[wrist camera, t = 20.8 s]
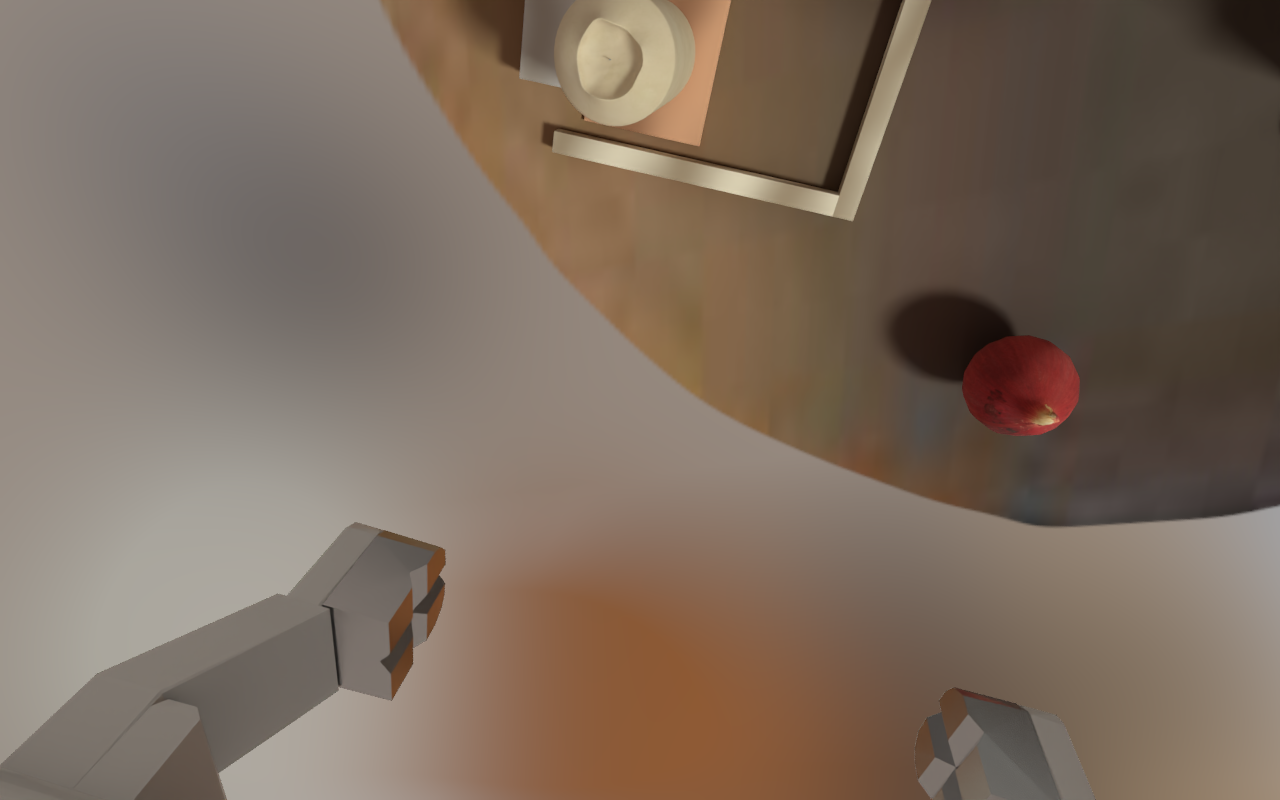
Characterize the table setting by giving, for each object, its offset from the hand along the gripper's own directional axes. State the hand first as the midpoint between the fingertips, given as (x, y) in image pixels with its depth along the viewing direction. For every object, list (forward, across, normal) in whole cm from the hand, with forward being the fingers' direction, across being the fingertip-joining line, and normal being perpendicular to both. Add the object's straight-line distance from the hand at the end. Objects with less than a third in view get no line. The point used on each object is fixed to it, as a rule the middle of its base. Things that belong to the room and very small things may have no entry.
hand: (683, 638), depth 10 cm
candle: (+33, +8, -6) cm, 34 cm away
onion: (+33, -18, +7) cm, 38 cm away
